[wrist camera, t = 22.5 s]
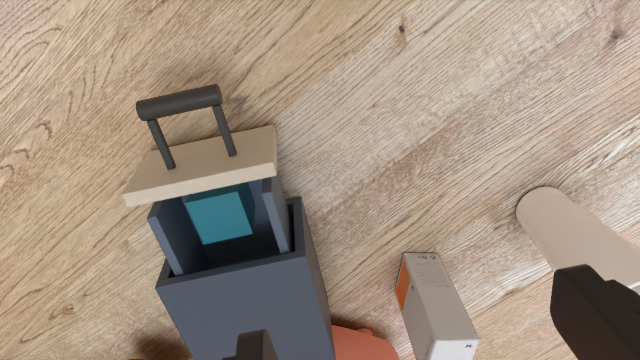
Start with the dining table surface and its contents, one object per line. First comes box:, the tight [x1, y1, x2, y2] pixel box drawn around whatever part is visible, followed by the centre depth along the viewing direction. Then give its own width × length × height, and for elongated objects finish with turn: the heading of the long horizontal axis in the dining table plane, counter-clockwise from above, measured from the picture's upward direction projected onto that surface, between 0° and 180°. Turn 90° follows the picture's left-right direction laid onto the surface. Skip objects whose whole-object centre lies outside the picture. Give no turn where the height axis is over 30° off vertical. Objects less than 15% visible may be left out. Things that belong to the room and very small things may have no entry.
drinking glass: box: [516, 187, 640, 295], centre depth 39 cm, size 7×7×15 cm
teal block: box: [185, 182, 255, 244], centre depth 37 cm, size 4×4×5 cm
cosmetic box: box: [395, 253, 480, 360], centre depth 44 cm, size 6×4×12 cm
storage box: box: [155, 197, 336, 360], centre depth 42 cm, size 15×13×9 cm
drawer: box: [121, 84, 295, 277], centre depth 36 cm, size 19×12×7 cm, turn 11°
